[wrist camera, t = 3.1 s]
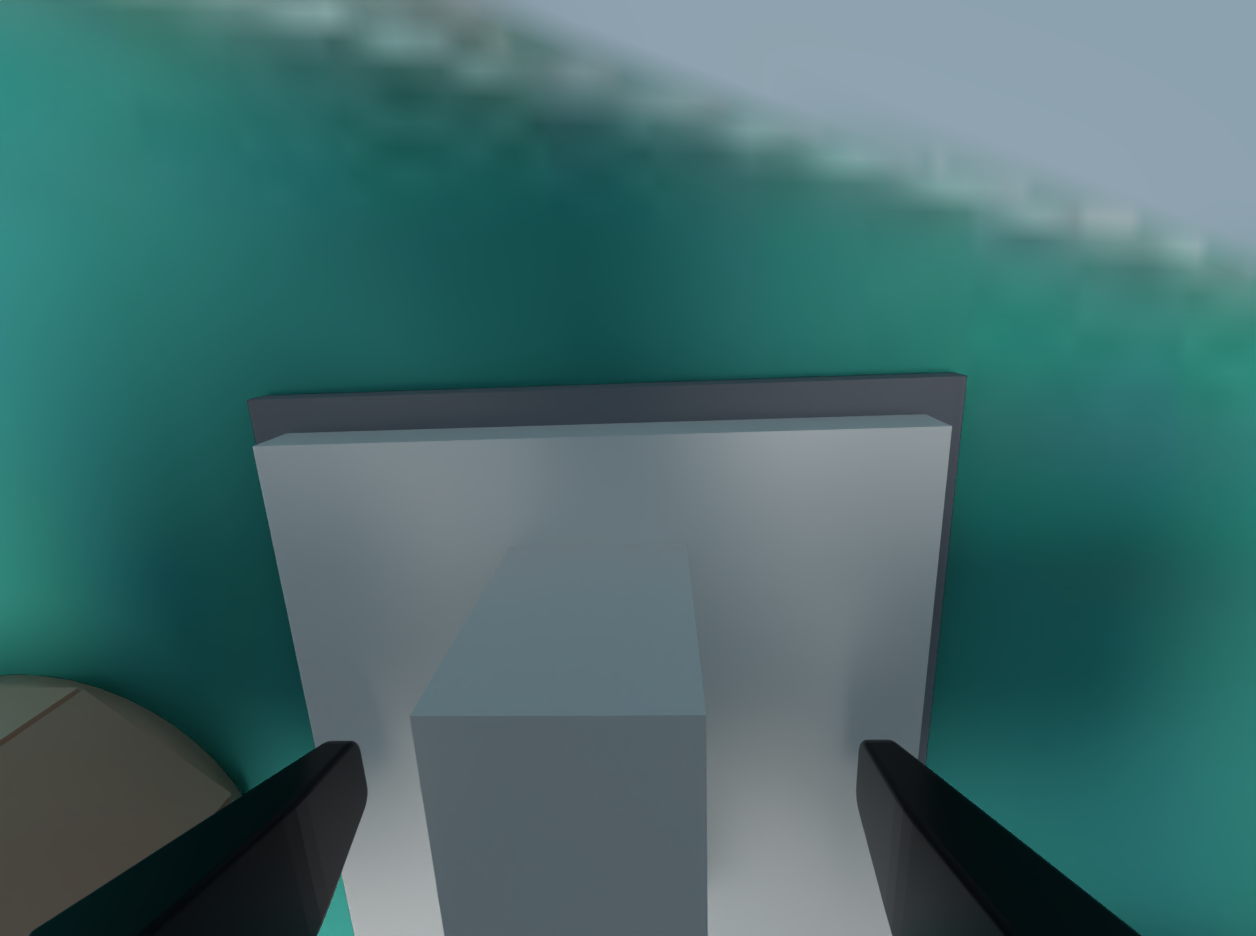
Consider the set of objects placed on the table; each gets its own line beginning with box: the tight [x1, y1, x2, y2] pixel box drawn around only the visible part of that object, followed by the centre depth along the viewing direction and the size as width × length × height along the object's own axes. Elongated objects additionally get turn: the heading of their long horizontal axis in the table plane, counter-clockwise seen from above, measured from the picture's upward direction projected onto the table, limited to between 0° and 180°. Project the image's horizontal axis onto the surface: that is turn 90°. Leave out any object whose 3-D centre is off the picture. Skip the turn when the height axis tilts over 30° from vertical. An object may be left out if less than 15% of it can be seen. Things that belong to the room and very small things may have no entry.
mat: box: [247, 372, 967, 765], centre depth 10 cm, size 10×10×1 cm
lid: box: [252, 414, 952, 936], centre depth 8 cm, size 9×9×4 cm
